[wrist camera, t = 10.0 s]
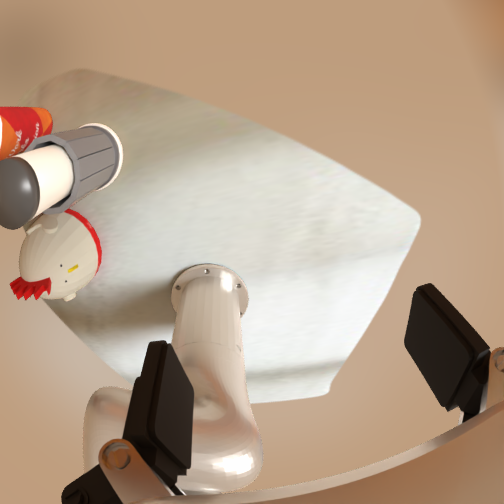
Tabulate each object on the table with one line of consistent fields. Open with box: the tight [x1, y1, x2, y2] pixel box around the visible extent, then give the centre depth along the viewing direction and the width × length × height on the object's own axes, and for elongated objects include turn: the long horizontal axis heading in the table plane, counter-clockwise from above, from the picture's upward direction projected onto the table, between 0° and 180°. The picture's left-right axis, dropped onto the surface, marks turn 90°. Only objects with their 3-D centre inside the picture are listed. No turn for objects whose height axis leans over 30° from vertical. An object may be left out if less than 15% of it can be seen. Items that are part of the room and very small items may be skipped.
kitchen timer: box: [10, 209, 102, 301], centre depth 35 cm, size 14×14×15 cm
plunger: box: [0, 144, 75, 230], centre depth 26 cm, size 6×6×17 cm
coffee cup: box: [0, 107, 53, 161], centre depth 25 cm, size 8×8×15 cm
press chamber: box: [24, 123, 124, 215], centre depth 30 cm, size 10×10×12 cm
